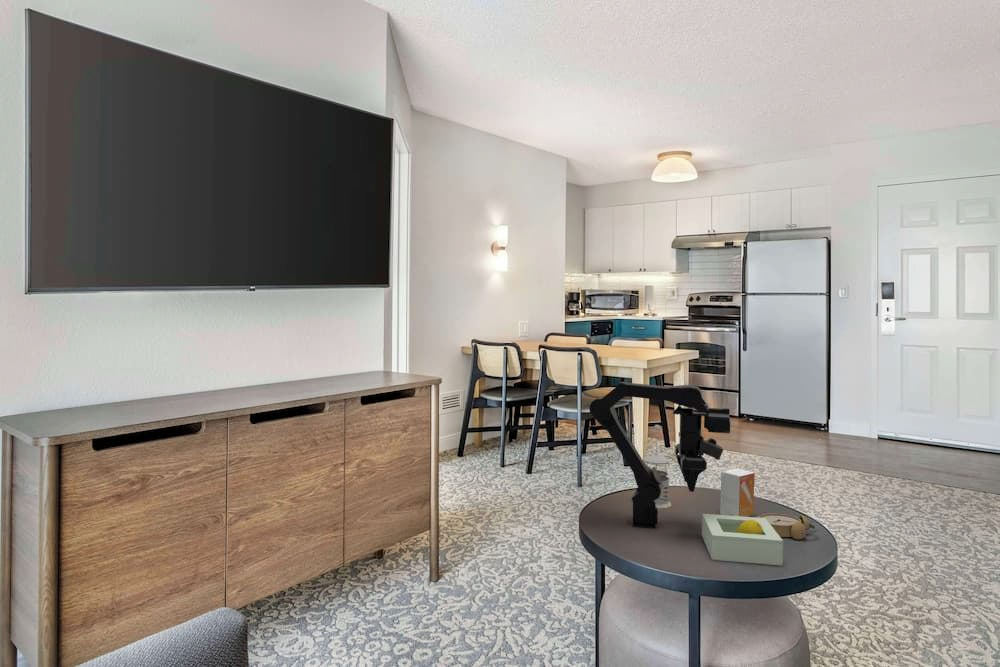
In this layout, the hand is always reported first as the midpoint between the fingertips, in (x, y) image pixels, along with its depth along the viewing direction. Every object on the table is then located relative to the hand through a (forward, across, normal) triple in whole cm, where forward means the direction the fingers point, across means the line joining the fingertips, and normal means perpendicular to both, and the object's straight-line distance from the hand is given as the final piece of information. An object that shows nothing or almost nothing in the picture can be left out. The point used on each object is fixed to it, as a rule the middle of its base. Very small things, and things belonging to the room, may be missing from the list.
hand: (689, 486), depth 162 cm
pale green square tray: (+12, -12, -11) cm, 20 cm away
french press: (+12, +22, +8) cm, 26 cm away
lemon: (+10, -12, -11) cm, 19 cm away
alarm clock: (+12, +4, -26) cm, 29 cm away
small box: (+12, +16, -16) cm, 26 cm away
